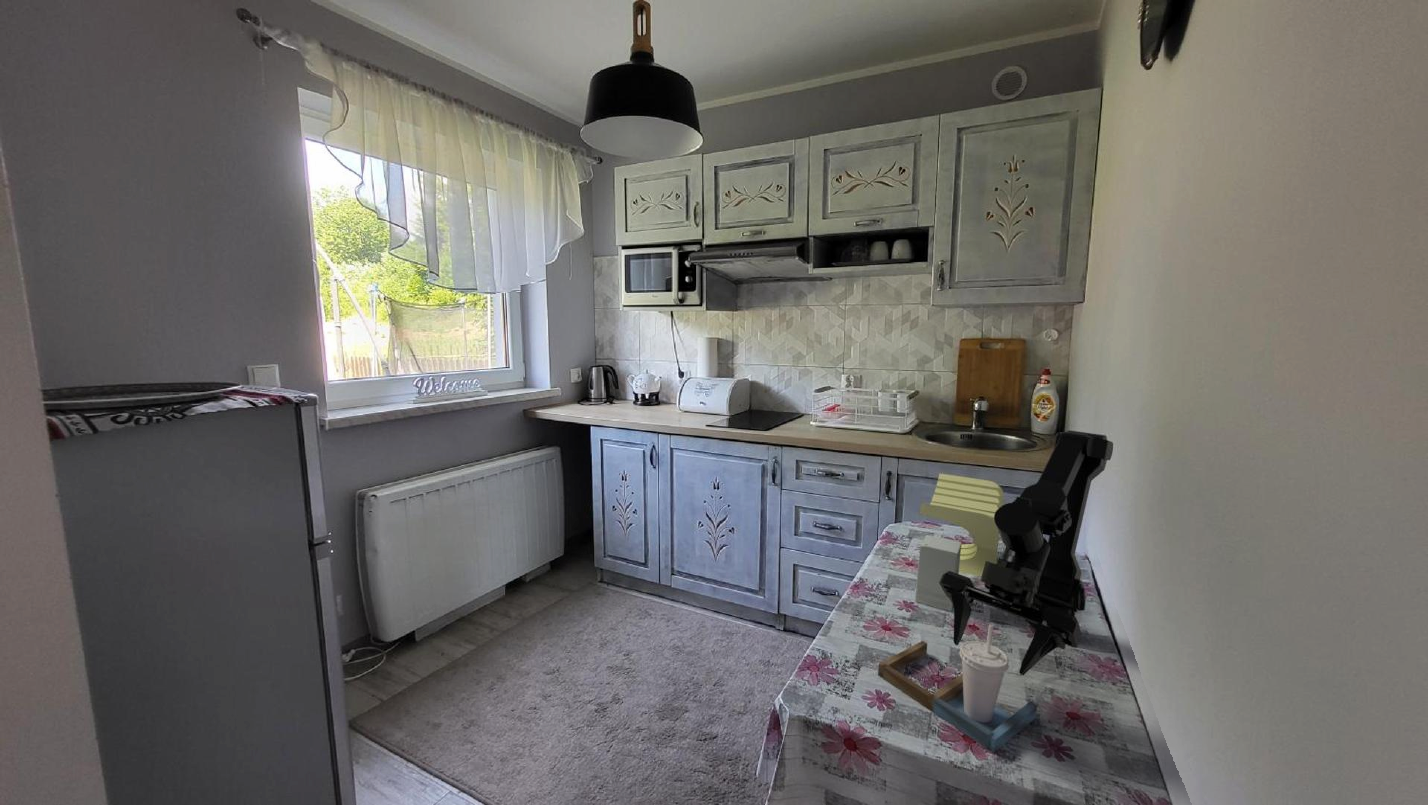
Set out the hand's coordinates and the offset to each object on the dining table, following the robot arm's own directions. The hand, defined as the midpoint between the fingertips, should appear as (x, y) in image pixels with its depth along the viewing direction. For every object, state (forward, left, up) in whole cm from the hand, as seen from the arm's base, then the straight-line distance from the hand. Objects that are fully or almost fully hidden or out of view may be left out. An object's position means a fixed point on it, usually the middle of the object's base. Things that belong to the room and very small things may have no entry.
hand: (986, 658), depth 77 cm
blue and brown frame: (+4, -3, -9) cm, 10 cm away
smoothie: (+1, +1, -8) cm, 9 cm away
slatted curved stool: (-19, -53, -9) cm, 57 cm away
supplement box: (-6, -33, -9) cm, 35 cm away
